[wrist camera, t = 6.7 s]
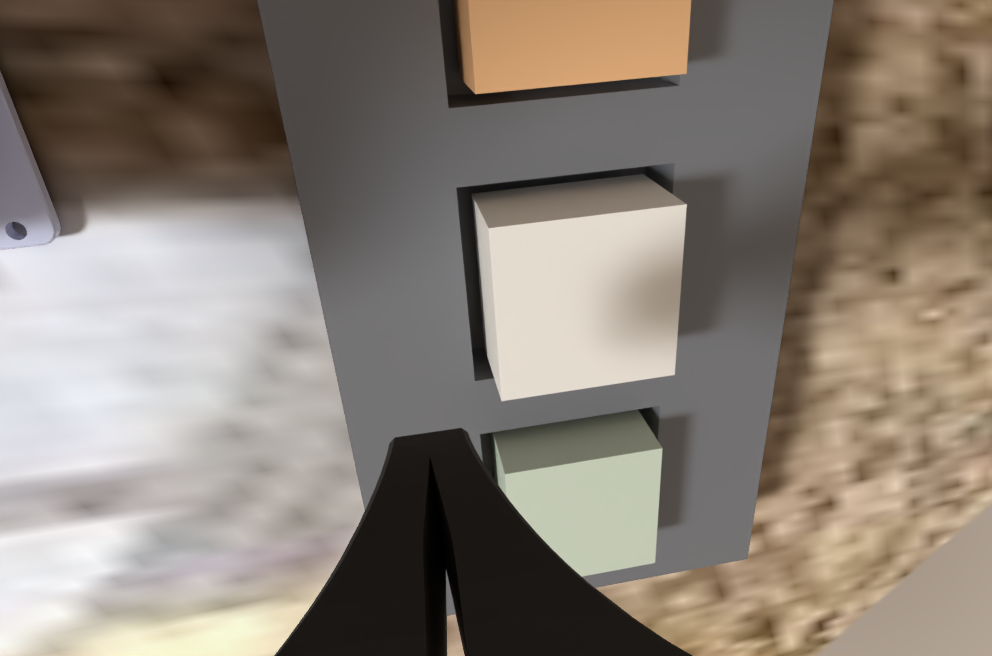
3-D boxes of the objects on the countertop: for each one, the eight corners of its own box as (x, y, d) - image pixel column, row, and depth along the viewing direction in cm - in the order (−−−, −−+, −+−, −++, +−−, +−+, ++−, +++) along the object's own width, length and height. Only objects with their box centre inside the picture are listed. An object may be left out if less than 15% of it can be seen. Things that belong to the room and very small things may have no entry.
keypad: (387, 564, 27) (389, 626, 24) (220, -267, 15) (189, -321, 12) (712, 506, 29) (747, 558, 26) (803, -286, 16) (885, -336, 14)
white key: (484, 348, 21) (501, 401, 18) (471, 193, 19) (488, 228, 16) (637, 327, 21) (674, 374, 19) (642, 174, 19) (686, 204, 16)
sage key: (498, 525, 25) (513, 589, 22) (488, 417, 23) (504, 474, 20) (625, 503, 26) (655, 562, 23) (629, 395, 23) (662, 448, 21)
